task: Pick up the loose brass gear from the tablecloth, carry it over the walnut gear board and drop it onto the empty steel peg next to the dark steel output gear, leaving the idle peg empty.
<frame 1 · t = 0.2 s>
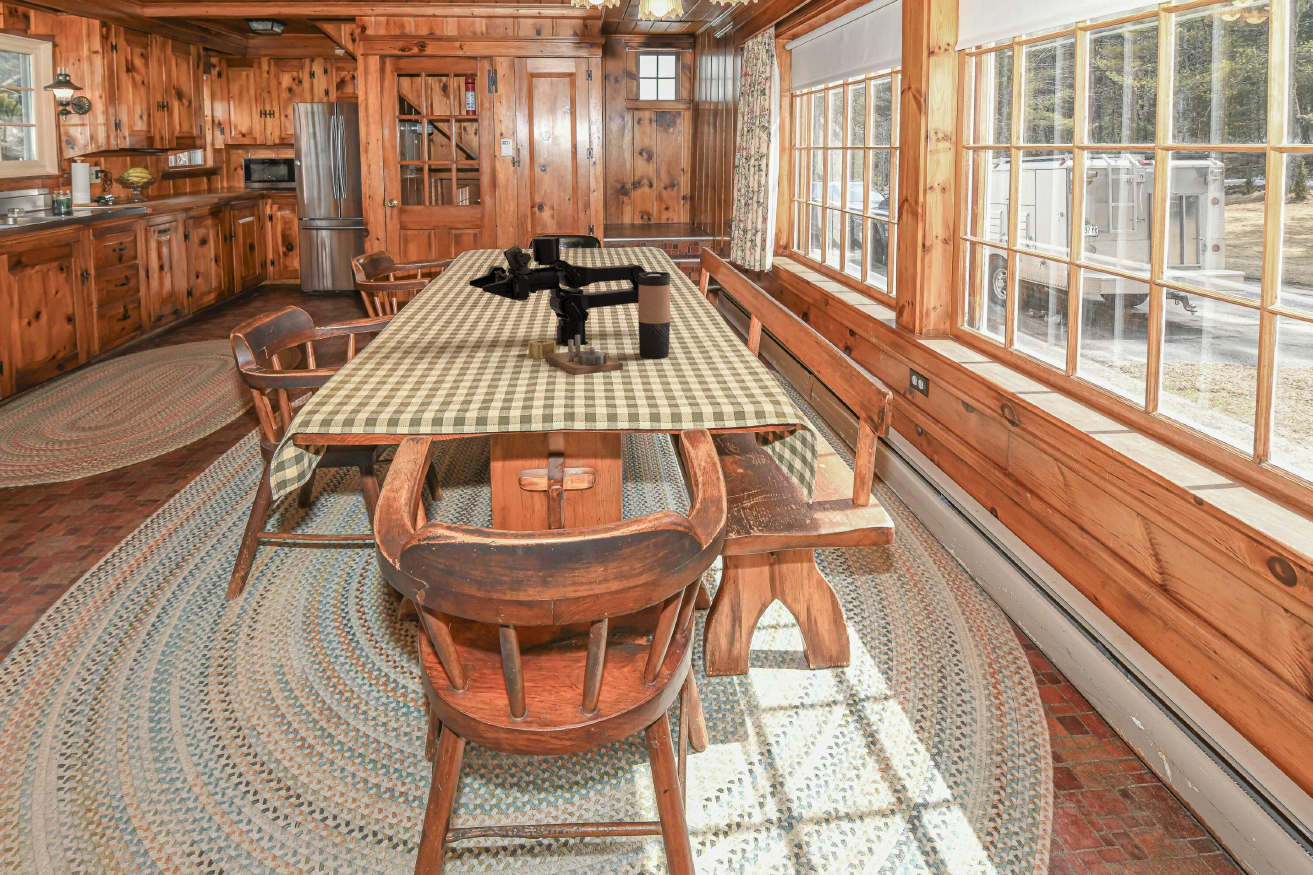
hand: (475, 286, 232), 16 cm above the table, tool horizontal, fingers open, 9 cm apart
brass gear: (542, 355, 234), on the table
gear board: (583, 364, 224), on the table
travel mug: (654, 356, 234), on the table
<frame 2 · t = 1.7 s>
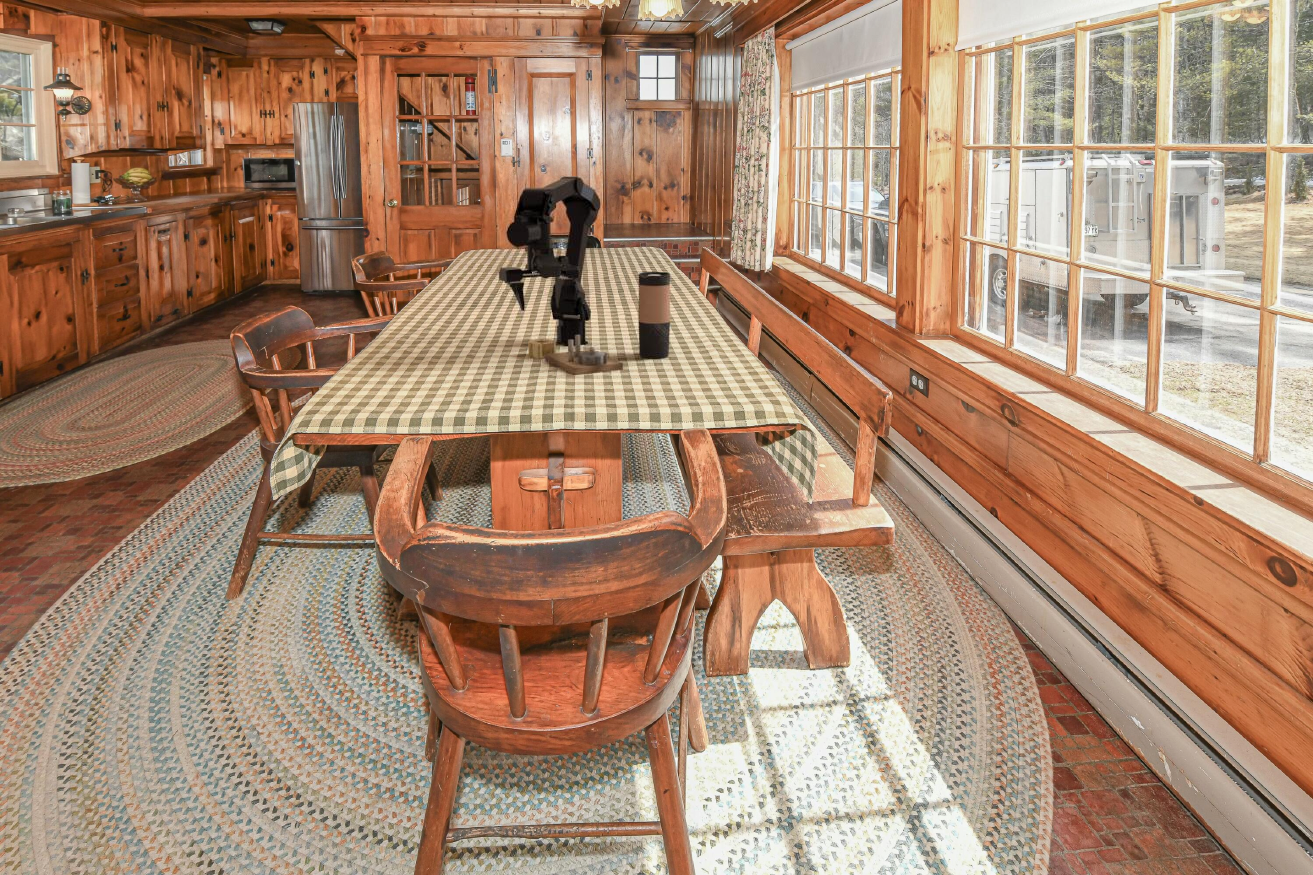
hand: (540, 309, 230), 11 cm above the table, tool pointing down, fingers open, 9 cm apart
nothing on the table moved.
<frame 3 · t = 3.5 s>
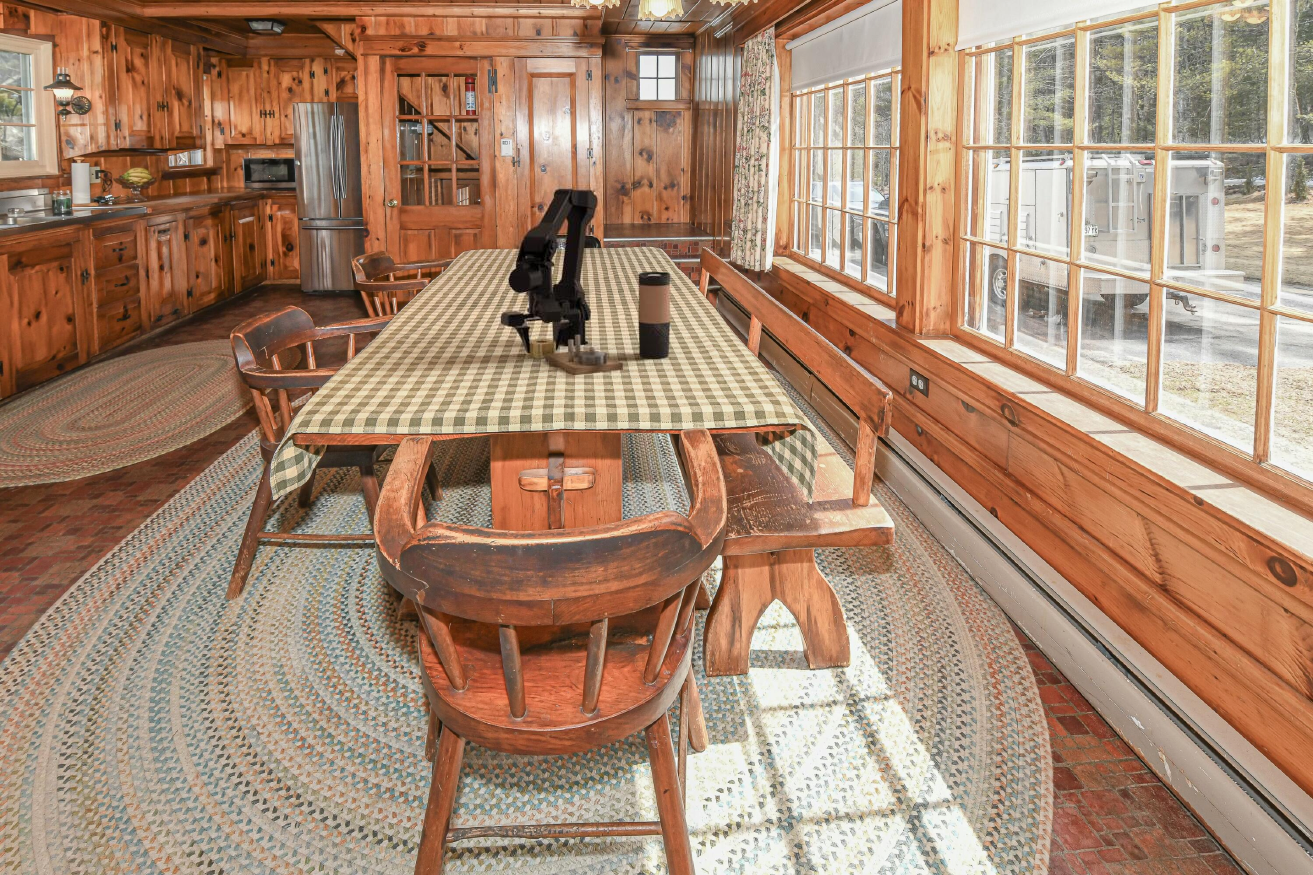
hand: (542, 351, 233), 1 cm above the table, tool pointing down, fingers closed on brass gear, 7 cm apart
brass gear: (542, 355, 234), on the table, touching gripper
everything else where it was.
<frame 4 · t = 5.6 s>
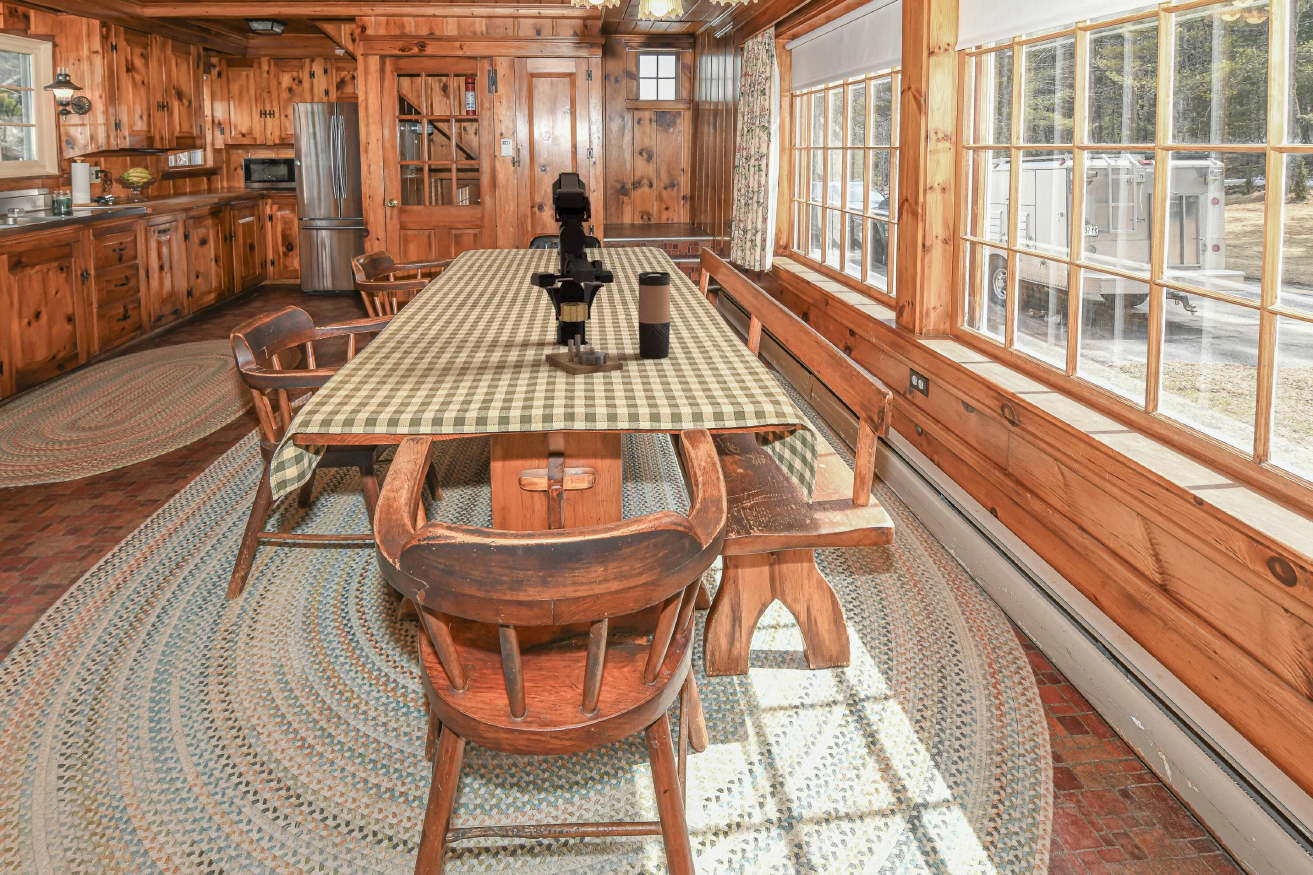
hand: (573, 315, 224), 11 cm above the table, tool pointing down, fingers closed on brass gear, 7 cm apart
brass gear: (573, 319, 224), point 10 cm above the table, touching gripper
everything else where it was.
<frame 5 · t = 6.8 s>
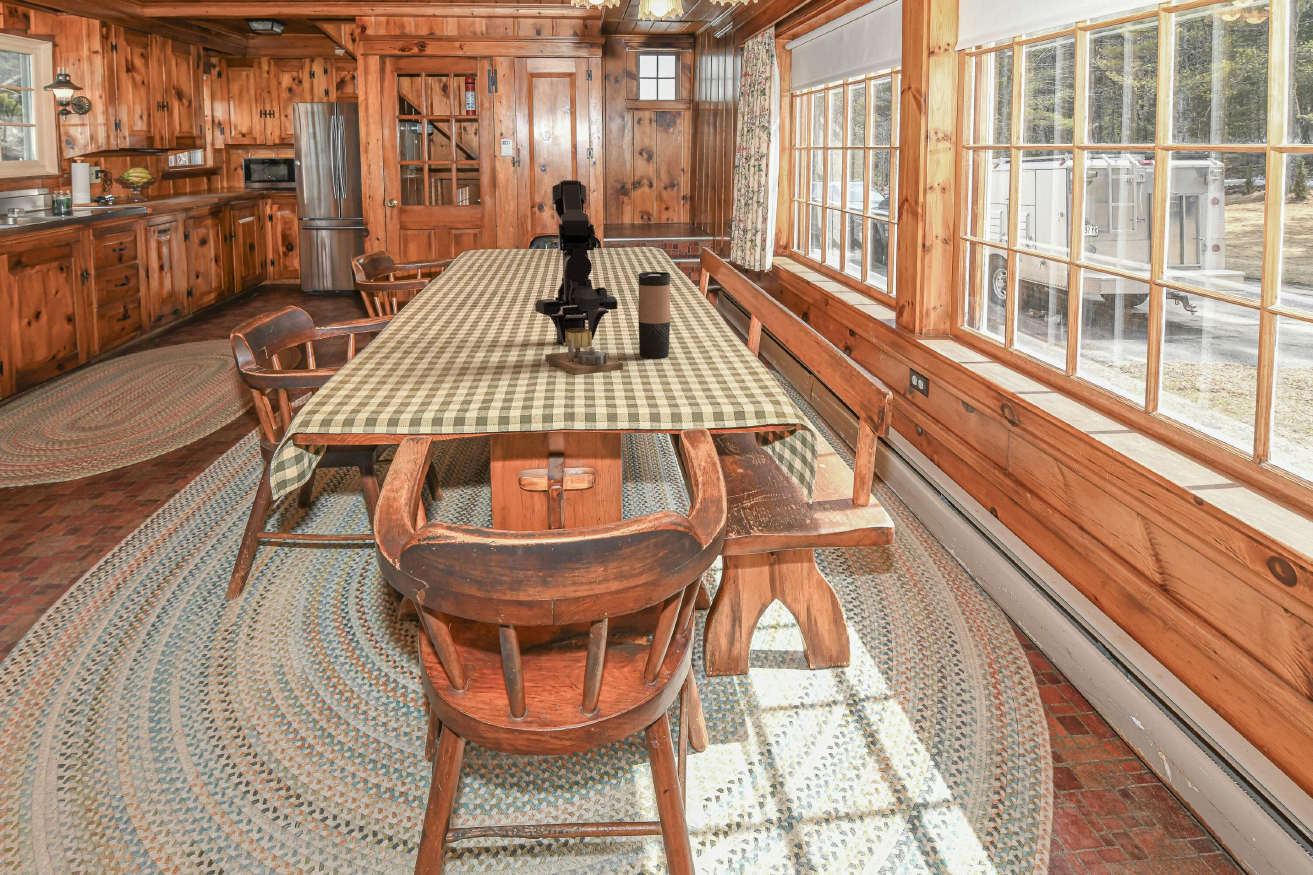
hand: (577, 341, 225), 5 cm above the table, tool pointing down, fingers closed on brass gear, 7 cm apart
brass gear: (577, 345, 226), point 4 cm above the table, touching gripper
everything else where it was.
when the fingers open (5 cm above the table, at t = 7.7 s): brass gear drops 2 cm, resting on gear board.
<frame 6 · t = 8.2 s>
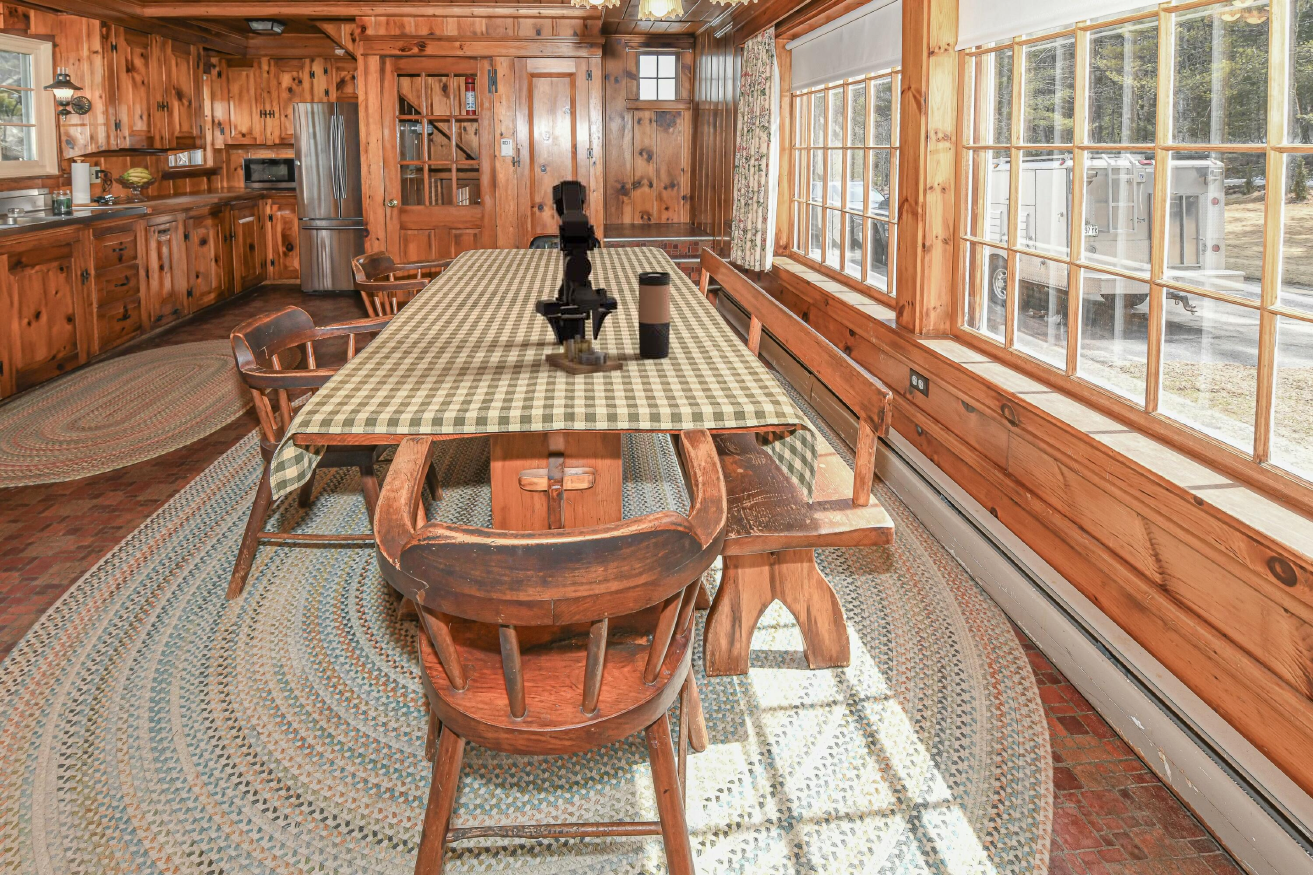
hand: (577, 341, 225), 5 cm above the table, tool pointing down, fingers open, 9 cm apart
brass gear: (578, 356, 226), point 1 cm above the table, touching gear board
everything else where it was.
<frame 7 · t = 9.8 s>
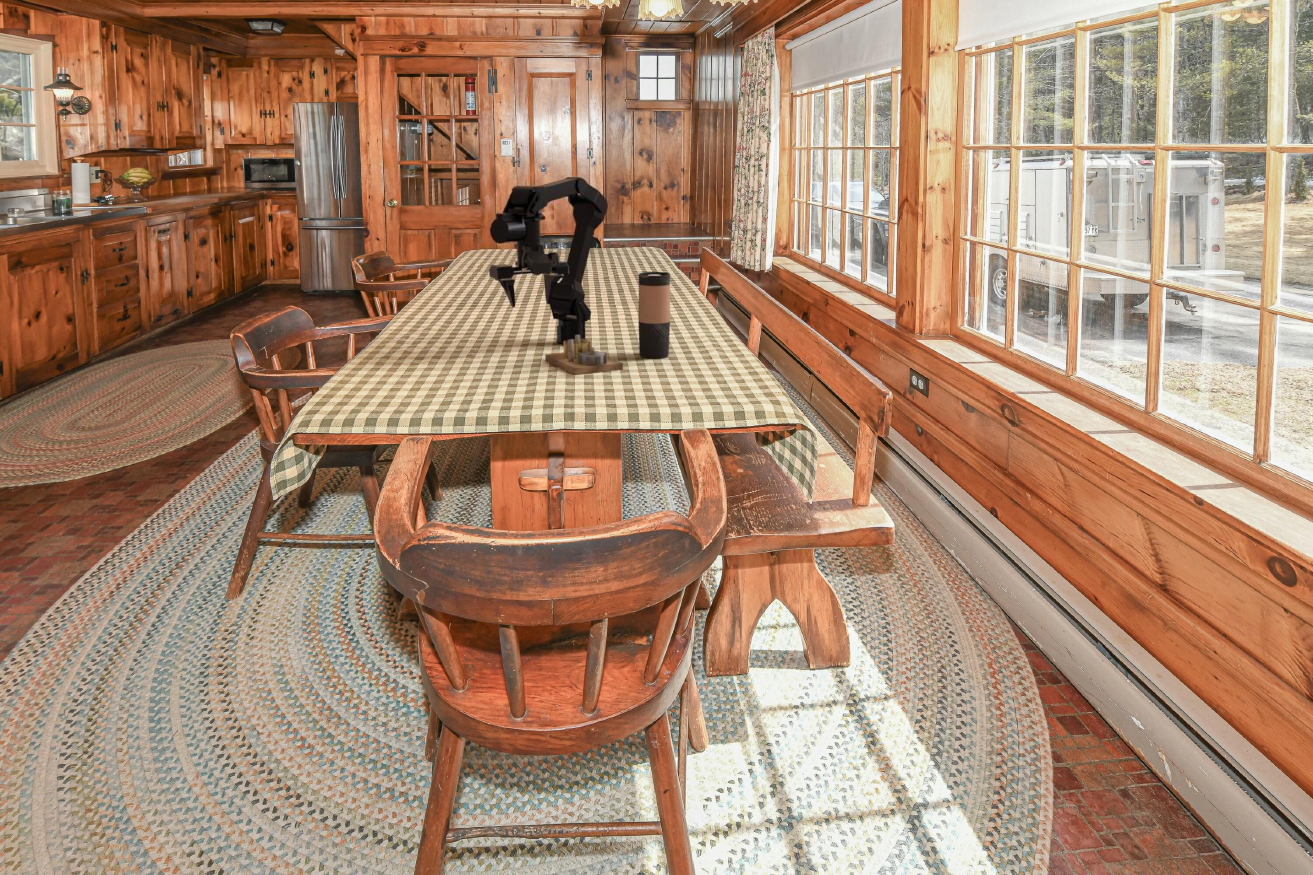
hand: (530, 305, 233), 12 cm above the table, tool pointing down, fingers open, 9 cm apart
nothing on the table moved.
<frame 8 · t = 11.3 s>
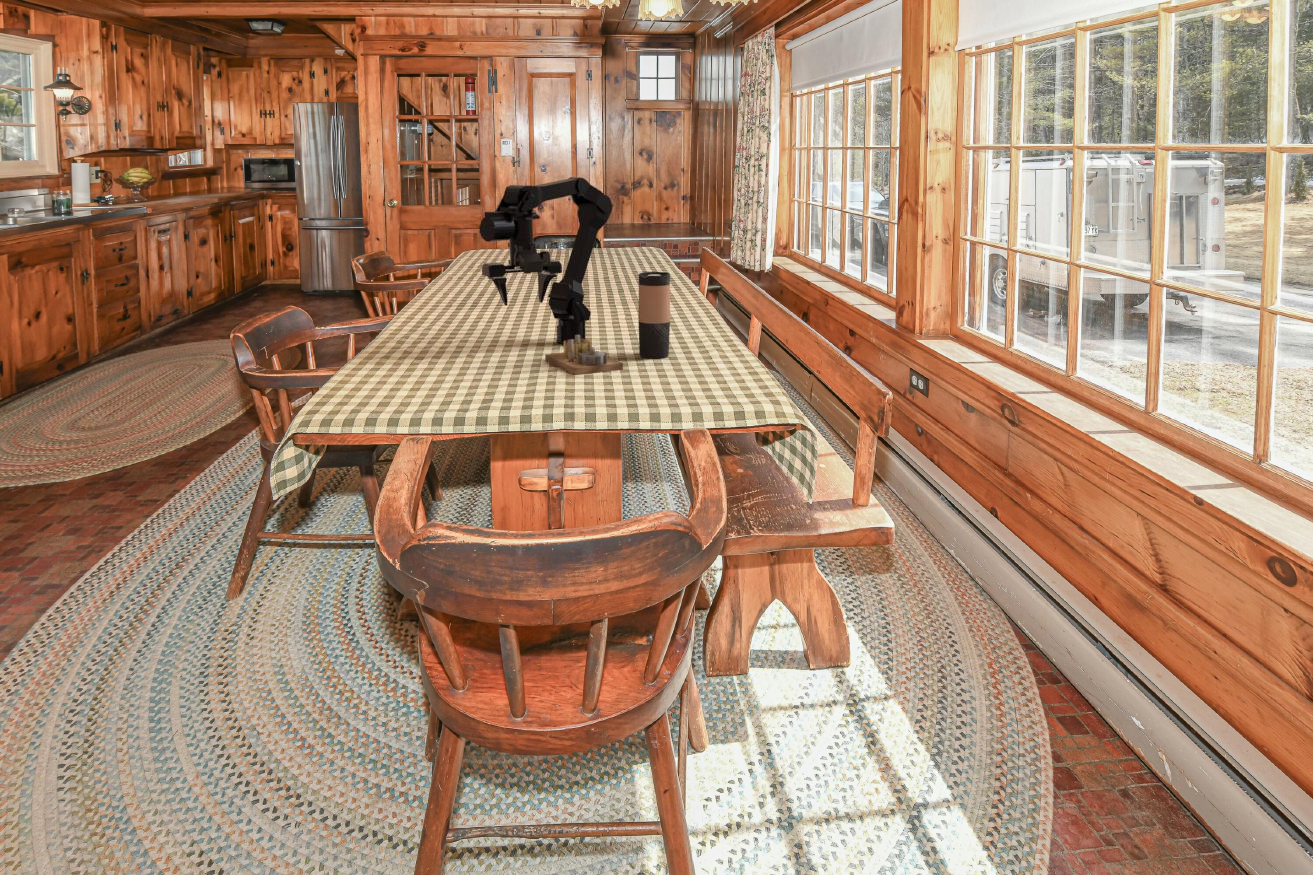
hand: (523, 304, 234), 12 cm above the table, tool pointing down, fingers open, 9 cm apart
nothing on the table moved.
at the end: brass gear 0.0 cm from the target spot on the gear board, point 1.5 cm above the gear board's base; the gripper is holding nothing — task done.
